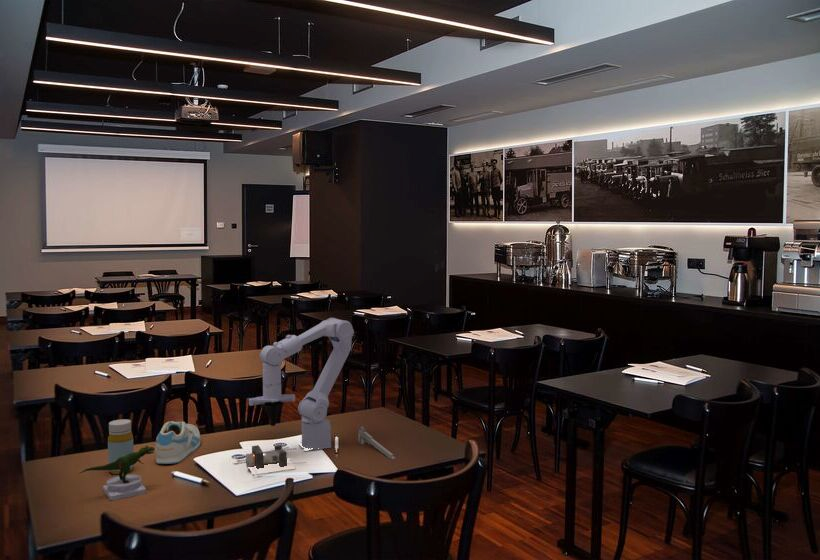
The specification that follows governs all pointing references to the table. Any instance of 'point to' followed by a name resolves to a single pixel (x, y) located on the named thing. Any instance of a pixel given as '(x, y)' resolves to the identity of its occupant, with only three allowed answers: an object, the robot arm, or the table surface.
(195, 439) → the sneaker
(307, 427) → the robot arm
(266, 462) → the tube
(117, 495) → the dinosaur figurine
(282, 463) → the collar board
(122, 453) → the bottle
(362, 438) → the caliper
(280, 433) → the table surface
